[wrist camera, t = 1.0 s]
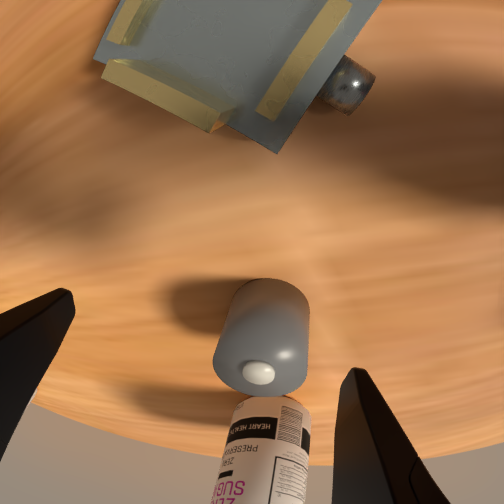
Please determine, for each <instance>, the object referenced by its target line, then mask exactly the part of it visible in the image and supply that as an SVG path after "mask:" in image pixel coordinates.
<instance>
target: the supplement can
mask: <svg viewBox="0 0 504 504" xmlns="http://www.w3.org/2000/svg"><path fill="white" fill-rule="evenodd" d="M310 433H311V415H310V413H309V411H308V410H307V409H306V408H304V407H303V406H302V405H301V404H300V403H298V402H297V401H296V400H293V399H290V398H288V397H285V396H277V397H257V396H254V397H250V398H249V399H247V400H244V401H243V402H241V403H239V404H238V405H237V406H236V408H235V410H234V413H233V417H232V421H231V425H230V429H229V433H228V437H227V441H226V445H225V449H224V453H223V457H222V461H221V465H220V469H219V473H218V477H217V481H216V485H215V489H214V493H213V497H212V501H211V504H304V503H305V493H306V484H307V473H308V461H309V447H310Z"/></svg>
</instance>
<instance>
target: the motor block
mask: <svg viewBox="0 0 504 504" xmlns="http://www.w3.org/2000/svg"><path fill="white" fill-rule="evenodd" d="M381 1H382V0H121V1H120V3H119V5H118V7H117V8H116V10H115V12H114V14H113V16H112V18H111V20H110V22H109V24H108V26H107V28H106V31H105V33H104V35H103V37H102V39H101V41H100V44H99V46H98V48H97V50H96V53H95V55H94V57H93V59H94V60H97V61H99V62H101V63H104V64H106V67H105V69H104V71H103V74H102V76H101V78H102V79H104V80H106V81H108V82H110V83H113V84H115V85H117V86H119V87H121V88H123V89H125V90H127V91H129V92H131V93H133V94H135V95H137V96H139V97H141V98H143V99H145V100H147V101H149V102H151V103H153V104H155V105H157V106H159V107H161V108H163V109H165V110H167V111H169V112H171V113H173V114H174V115H176V116H178V117H180V118H182V119H184V120H186V121H188V122H189V123H191V124H193V125H195V126H197V127H199V128H200V129H202V130H204V131H206V132H208V133H211V132H212V131H214V130H216V129H218V128H220V127H222V126H223V125H225V124H226V125H228V126H230V127H232V128H233V129H235V130H237V131H239V132H240V133H242V134H244V135H245V136H247V137H249V138H251V139H252V140H254V141H256V142H257V143H259V144H261V145H262V146H264V147H266V148H267V149H269V150H271V151H272V152H274V153H276V154H278V152H279V151H280V149H281V148H282V146H283V144H284V143H285V141H286V140H287V138H288V137H289V135H290V134H291V132H292V131H293V129H294V128H295V126H296V125H297V123H298V122H299V120H300V119H301V117H302V116H303V114H304V113H305V111H306V110H307V108H308V107H309V105H310V104H311V102H312V101H313V99H314V98H315V96H318V97H319V98H321V99H322V100H324V101H325V102H327V103H328V104H330V105H331V106H333V107H334V108H336V109H337V110H339V111H340V112H342V113H343V114H345V115H346V116H348V115H350V114H351V113H352V112H353V111H354V110H355V109H356V108H357V107H358V106H359V104H360V103H361V102H362V101H363V99H364V98H365V96H366V95H367V93H368V92H369V90H370V89H371V87H372V85H373V83H374V81H375V78H376V76H375V75H373V74H372V73H371V72H369V71H368V70H366V69H365V68H363V67H362V66H361V65H359V64H358V63H356V62H355V61H353V60H352V59H350V58H349V57H347V56H346V55H344V54H345V52H346V51H347V49H348V48H349V46H350V45H351V44H352V42H353V41H354V39H355V38H356V36H357V35H358V34H359V32H360V31H361V29H362V28H363V27H364V25H365V24H366V22H367V21H368V20H369V18H370V17H371V15H372V14H373V13H374V11H375V10H376V8H377V7H378V6H379V4H380V3H381Z"/></svg>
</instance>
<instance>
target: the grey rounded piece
mask: <svg viewBox="0 0 504 504" xmlns="http://www.w3.org/2000/svg"><path fill="white" fill-rule="evenodd" d="M309 314H310V309H309V304H308V301H307V299H306V297H305V296H304V295H303V293H302V292H301V291H300V290H299V289H297V288H296V287H295V286H293V285H291V284H289V283H287V282H285V281H282V280H278V279H270V278H265V279H257V280H253V281H250V282H248V283H246V284H245V285H243V286H242V287H241V288H239V289H238V291H237V292H236V293H235V295H234V297H233V300H232V303H231V306H230V309H229V311H228V314H227V317H226V320H225V323H224V326H223V329H222V332H221V335H220V338H219V341H218V344H217V347H216V350H215V353H214V356H213V367H214V370H215V372H216V374H217V376H218V377H219V378H220V379H221V380H222V381H223V382H224V383H225V384H227V385H228V386H229V387H231V388H233V389H235V390H237V391H239V392H241V393H244V394H247V395H251V396H257V397H277V396H282V395H285V394H288V393H291V392H293V391H294V390H296V389H297V388H299V387H300V386H301V385H302V384H303V382H304V381H305V379H306V376H307V366H308V343H309Z"/></svg>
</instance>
